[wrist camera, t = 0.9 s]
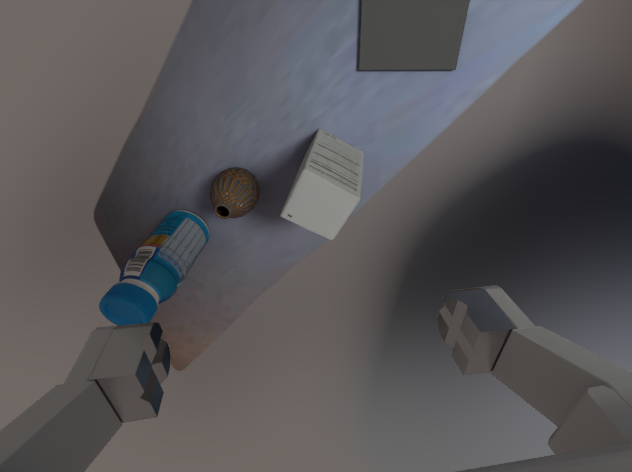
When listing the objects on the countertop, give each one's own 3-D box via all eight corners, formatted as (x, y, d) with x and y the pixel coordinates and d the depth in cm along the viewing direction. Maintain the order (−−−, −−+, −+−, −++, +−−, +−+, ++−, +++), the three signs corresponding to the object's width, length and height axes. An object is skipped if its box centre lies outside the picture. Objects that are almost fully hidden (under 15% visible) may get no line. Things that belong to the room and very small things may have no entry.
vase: (221, 193, 54) (198, 224, 48) (222, 155, 50) (197, 184, 43) (261, 204, 55) (244, 237, 48) (266, 167, 50) (248, 198, 43)
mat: (364, -65, 33) (364, -66, 32) (483, -72, 31) (484, -73, 31) (359, 69, 40) (359, 70, 40) (454, 68, 38) (455, 69, 38)
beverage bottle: (218, 223, 59) (159, 314, 43) (203, 252, 64) (145, 342, 48) (173, 199, 57) (95, 284, 41) (161, 230, 62) (87, 316, 46)
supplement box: (341, 191, 51) (331, 243, 41) (297, 168, 50) (277, 217, 40) (366, 151, 46) (362, 199, 36) (319, 126, 45) (302, 168, 35)
